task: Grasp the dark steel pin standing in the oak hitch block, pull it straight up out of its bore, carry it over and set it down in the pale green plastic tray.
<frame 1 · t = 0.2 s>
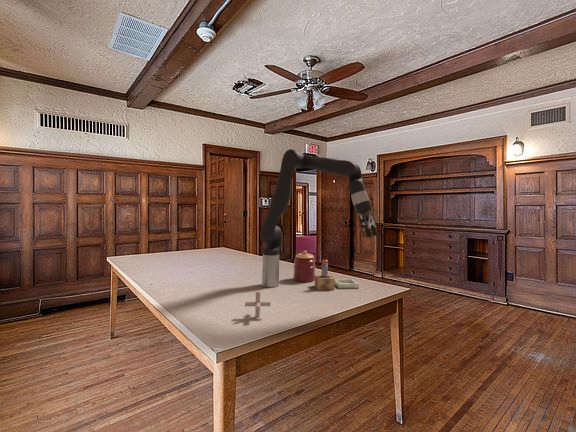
hand: (372, 236, 137), 31 cm above the table, tool tilted 20°, fingers open, 8 cm apart
hitch block: (324, 287, 166), on the table
steel pin: (324, 273, 165), in the hitch block
tray: (345, 285, 170), on the table
canister: (304, 280, 182), on the table
pipe connector: (257, 317, 120), on the table
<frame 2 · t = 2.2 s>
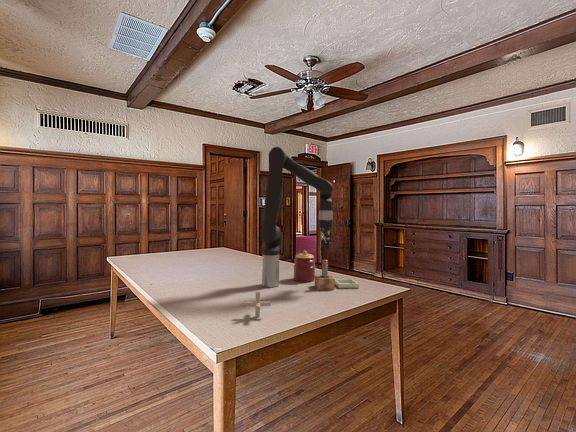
hand: (325, 248, 165), 21 cm above the table, tool pointing down, fingers open, 8 cm apart
nothing on the table moved.
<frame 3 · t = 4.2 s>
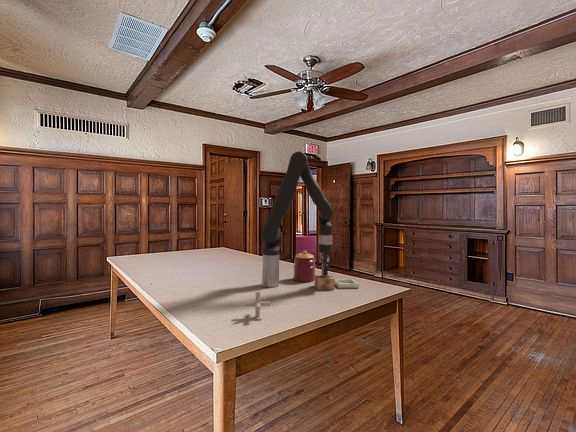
hand: (324, 274, 165), 7 cm above the table, tool pointing down, fingers closed on steel pin, 3 cm apart
steel pin: (324, 273, 165), in the hitch block, touching gripper
everything else where it was.
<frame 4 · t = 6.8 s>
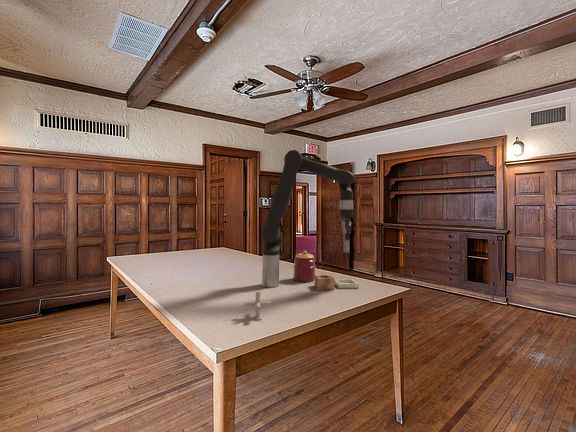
hand: (346, 239, 168), 26 cm above the table, tool pointing down, fingers closed on steel pin, 3 cm apart
steel pin: (346, 238, 168), point 26 cm above the table, touching gripper
everything else where it was.
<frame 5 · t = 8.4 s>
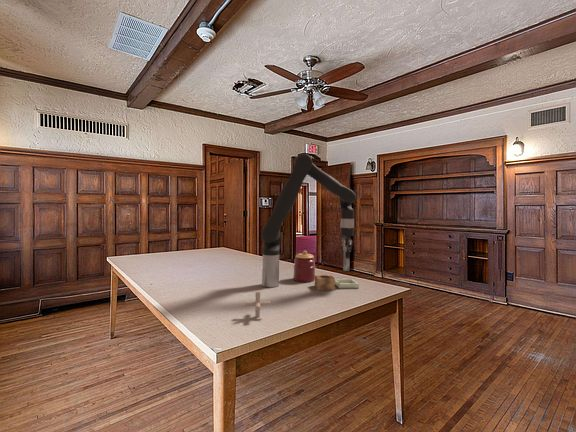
hand: (346, 257, 169), 16 cm above the table, tool pointing down, fingers closed on steel pin, 3 cm apart
steel pin: (346, 256, 169), point 16 cm above the table, touching gripper
everything else where it was.
when the fingers open (9 cm above the table, at t = 9.8 s): steel pin stays where it is, resting on tray.
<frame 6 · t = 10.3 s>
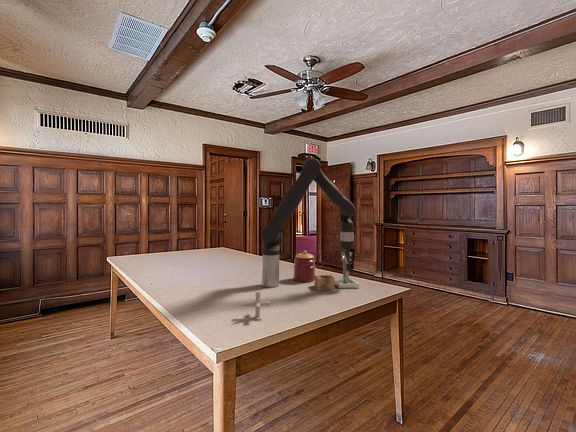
hand: (346, 269, 170), 9 cm above the table, tool pointing down, fingers open, 7 cm apart
steel pin: (346, 271, 170), in the tray, point 8 cm above the table
everything else where it was.
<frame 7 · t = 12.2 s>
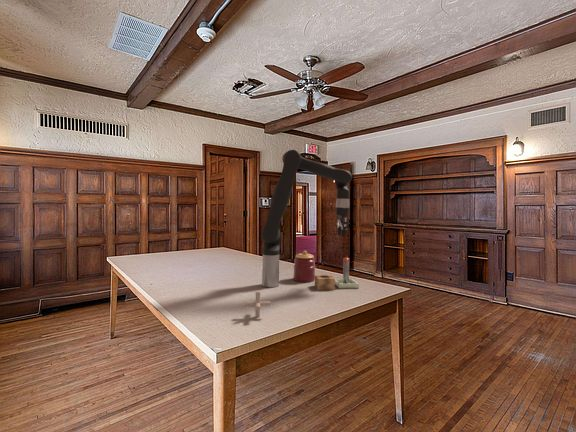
hand: (341, 235, 171), 28 cm above the table, tool pointing down, fingers open, 8 cm apart
nothing on the table moved.
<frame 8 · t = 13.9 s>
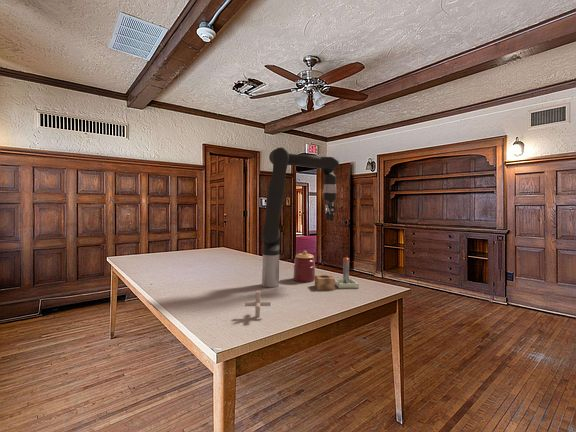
hand: (329, 220, 177), 36 cm above the table, tool pointing down, fingers open, 8 cm apart
nothing on the table moved.
at the end: steel pin inside the target area on the tray (0.1 cm from its centre), point 8.1 cm above the tray's base; the gripper is holding nothing; steel pin touching tray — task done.
